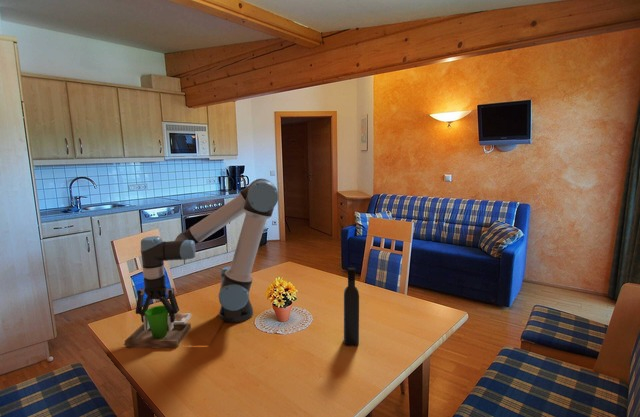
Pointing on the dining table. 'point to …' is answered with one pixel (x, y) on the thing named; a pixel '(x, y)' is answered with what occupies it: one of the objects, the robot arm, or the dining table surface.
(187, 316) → the dish
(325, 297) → the dining table surface
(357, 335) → the wine bottle
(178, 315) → the ball
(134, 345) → the tray
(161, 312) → the cup
